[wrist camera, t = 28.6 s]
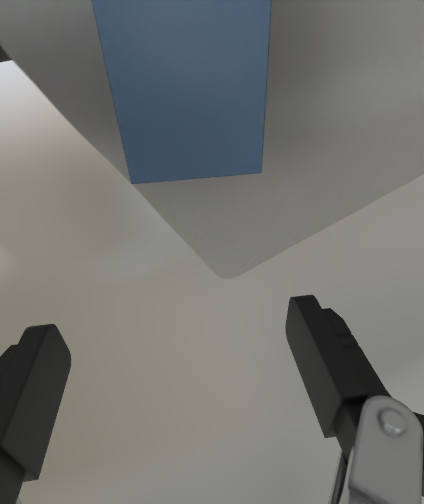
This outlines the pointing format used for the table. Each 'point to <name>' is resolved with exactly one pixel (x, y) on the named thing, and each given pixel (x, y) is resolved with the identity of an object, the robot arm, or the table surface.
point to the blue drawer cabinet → (187, 84)
